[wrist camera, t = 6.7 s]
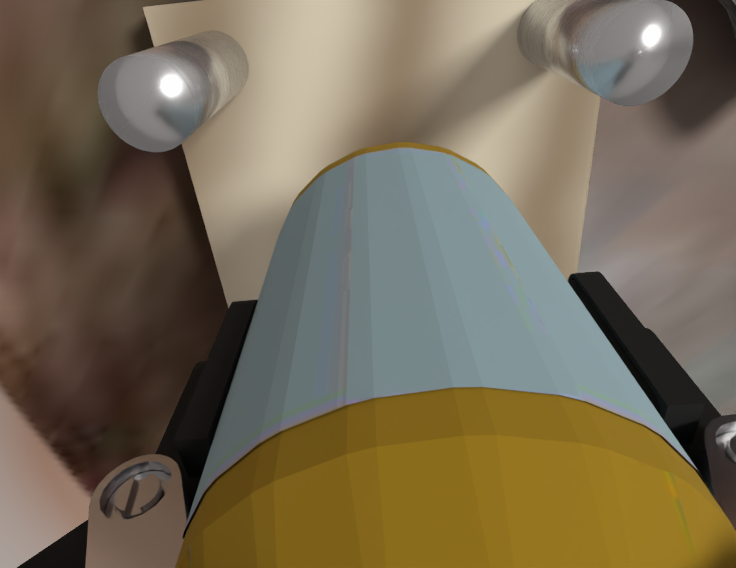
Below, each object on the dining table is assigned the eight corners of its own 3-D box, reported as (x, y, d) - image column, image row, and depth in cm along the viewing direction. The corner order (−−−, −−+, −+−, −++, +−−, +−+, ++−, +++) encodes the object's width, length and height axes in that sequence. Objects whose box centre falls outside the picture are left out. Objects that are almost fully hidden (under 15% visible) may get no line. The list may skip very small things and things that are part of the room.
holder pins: (587, -11, 15) (703, -7, 10) (550, 328, 21) (609, 439, 16) (177, 33, 16) (83, 60, 10) (259, 351, 22) (226, 466, 17)
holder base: (602, -45, 16) (619, -46, 15) (558, 326, 23) (567, 342, 22) (157, 5, 16) (142, 7, 15) (250, 350, 23) (245, 367, 22)
